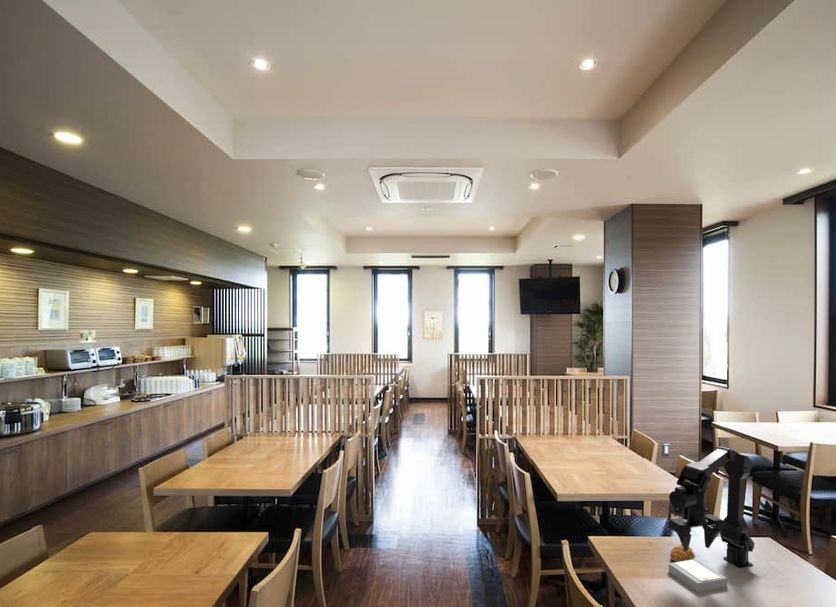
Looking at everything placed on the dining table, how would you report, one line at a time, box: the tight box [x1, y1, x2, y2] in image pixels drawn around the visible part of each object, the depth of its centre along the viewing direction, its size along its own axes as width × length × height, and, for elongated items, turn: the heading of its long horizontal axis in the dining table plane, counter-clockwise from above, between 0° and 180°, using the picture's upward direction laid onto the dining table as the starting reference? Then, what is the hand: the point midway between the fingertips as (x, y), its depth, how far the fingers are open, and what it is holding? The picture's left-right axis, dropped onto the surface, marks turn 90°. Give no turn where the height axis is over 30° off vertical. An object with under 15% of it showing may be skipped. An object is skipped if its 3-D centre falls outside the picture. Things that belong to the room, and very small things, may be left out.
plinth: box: [668, 558, 728, 593], centre depth 151 cm, size 12×12×3 cm
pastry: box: [669, 544, 696, 562], centre depth 163 cm, size 9×7×4 cm
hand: (696, 549), depth 151 cm, fingers open, 9 cm apart
